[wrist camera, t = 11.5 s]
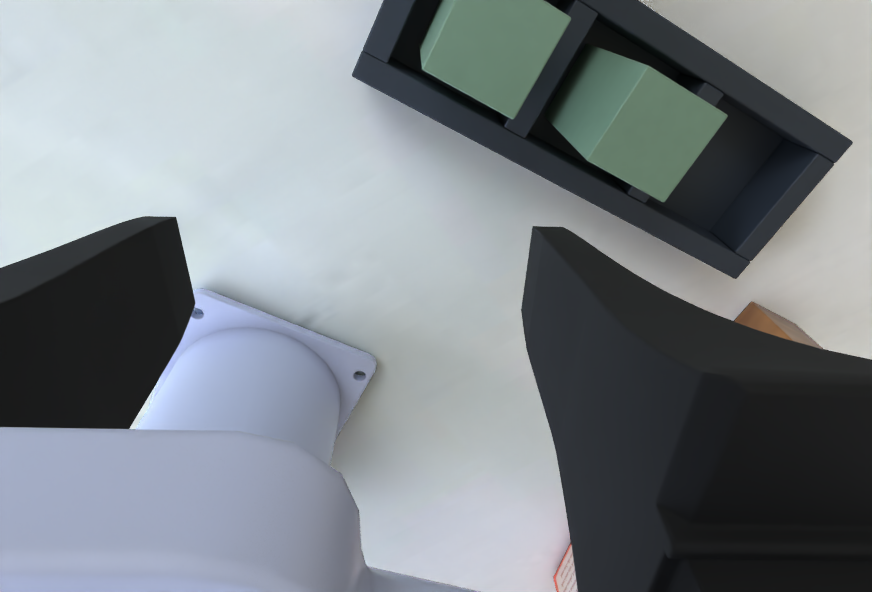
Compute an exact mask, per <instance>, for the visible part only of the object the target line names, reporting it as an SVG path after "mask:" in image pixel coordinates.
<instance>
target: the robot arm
mask: <svg viewBox="0 0 872 592" xmlns="http://www.w3.org/2000/svg"><path fill="white" fill-rule="evenodd" d="M194 308H199V309H201V310H202V311H203V313H204V314H198V313H196V312H195V311H194ZM521 311H522V319H523V327H524V334H525V341H526V348H527V352H528V355H529V359H530V362H531V366H532V369H533V372H534V376H535V379H536V383H537V386H538V389H539V393H540V396H541V399H542V403H543V406H544V409H545V413H546V416H547V419H548V423H549V426H550V429H551V433H552V437H553V441H554V445H555V449H556V454H557V459H558V465H559V471H560V477H561V482H562V488H563V494H564V500H565V506H566V513H567V519H568V526H569V532H570V539H571V545H572V553H573V560H574V567H575V575H576V582H577V589H578V592H872V360H870V359H866V358H861V357H856V356H852V355H847V354H842V353H837V352H833V351H828V350H824V349H820V348H817V347H813V346H810V345H806V344H802V343H799V342H795V341H792V340H788V339H784V338H781V337H778V336H775V335H771V334H768V333H765V332H762V331H759V330H756V329H753V328H750V327H747V326H745V325H742V324H739V323H737V322H734V321H731V320H728V319H726V318H723V317H720V316H718V315H715V314H713V313H711V312H708V311H706V310H703V309H701V308H699V307H697V306H695V305H693V304H690V303H688V302H686V301H684V300H682V299H680V298H678V297H676V296H673V295H671V294H669V293H668V292H666V291H664V290H662V289H660V288H658V287H656V286H655V285H653V284H651V283H649V282H648V281H646V280H644V279H643V278H641V277H639V276H637V275H636V274H634V273H632V272H631V271H629V270H628V269H626V268H625V267H623V266H621V265H620V264H618V263H617V262H615V261H614V260H612V259H611V258H609V257H608V256H606V255H605V254H603V253H602V252H601V251H599V250H598V249H596V248H595V247H593V246H592V245H590V244H589V243H588V242H586V241H585V240H583V239H582V238H580V237H579V236H577V235H576V234H574V233H573V232H571V231H569V230H568V229H565V228H563V227H539V226H533V228H532V235H531V243H530V250H529V258H528V265H527V272H526V280H525V287H524V295H523V302H522V309H521ZM376 366H377V362H376V359H375V358H374V356H372V355H371V354H368V353H366V352H363V351H361V350H358V349H356V348H353V347H351V346H348V345H346V344H343V343H341V342H338V341H336V340H333V339H331V338H328V337H326V336H323V335H321V334H318V333H315V332H313V331H310V330H308V329H305V328H303V327H300V326H298V325H295V324H293V323H290V322H288V321H285V320H283V319H280V318H278V317H275V316H273V315H270V314H268V313H265V312H263V311H260V310H258V309H255V308H252V307H250V306H247V305H245V304H242V303H240V302H237V301H235V300H232V299H230V298H227V297H225V296H222V295H220V294H217V293H215V292H212V291H210V290H207V289H203V288H200V289H196V290H194V291H193V290H192V285H191V281H190V276H189V272H188V268H187V263H186V259H185V254H184V250H183V246H182V241H181V237H180V232H179V228H178V224H177V219H176V217H151V216H145V217H140V218H135V219H132V220H128V221H125V222H122V223H119V224H116V225H113V226H111V227H108V228H105V229H103V230H100V231H98V232H95V233H92V234H90V235H87V236H85V237H82V238H80V239H77V240H75V241H72V242H70V243H67V244H64V245H62V246H59V247H57V248H54V249H52V250H49V251H46V252H43V253H41V254H38V255H35V256H32V257H30V258H27V259H24V260H21V261H19V262H16V263H13V264H10V265H8V266H5V267H2V268H0V592H479V591H475V590H470V589H466V588H461V587H457V586H452V585H448V584H444V583H439V582H435V581H430V580H426V579H421V578H417V577H412V576H408V575H403V574H399V573H394V572H390V571H386V570H381V569H377V568H372V567H368V566H367V565H366V564H365V560H364V556H363V553H362V549H361V534H360V518H359V509H358V507H357V505H356V503H355V501H354V499H353V497H352V495H351V492H350V490H349V488H348V486H347V484H346V482H345V480H344V478H343V476H342V474H341V473H340V472H338V471H337V470H335V469H334V468H332V467H331V461H332V455H333V449H334V442H335V440H336V438H337V437H338V435H339V433H340V431H341V430H342V428H343V426H344V424H345V423H346V421H347V419H348V417H349V416H350V414H351V412H352V411H353V409H354V407H355V405H356V404H357V402H358V400H359V398H360V397H361V395H362V393H363V391H364V390H365V388H366V386H367V385H368V383H369V381H370V379H371V378H372V376H373V374H374V372H375V370H376ZM357 371H362V372H364V373H365V374H364V375H357V374H356V373H355V372H357ZM157 381H158V383H157ZM156 383H157V386H156V388H155V391H154V394H153V397H152V399H151V402H150V405H149V408H148V409H147V411H146V413H145V414H144V416H143V418H142V419H141V421H140V422H139V424H138V426H137V427H136V429H129V428H130V426H131V425H132V423H133V421H134V420H135V418H136V416H137V415H138V413H139V411H140V410H141V408H142V406H143V405H144V403H145V401H146V400H147V398H148V396H149V395H150V393H151V391H152V390H153V388H154V386H155V385H156Z"/></svg>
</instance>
